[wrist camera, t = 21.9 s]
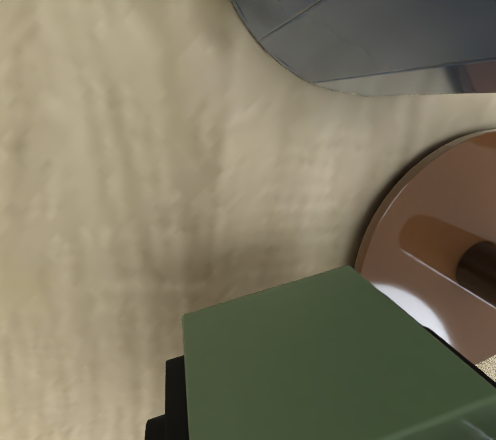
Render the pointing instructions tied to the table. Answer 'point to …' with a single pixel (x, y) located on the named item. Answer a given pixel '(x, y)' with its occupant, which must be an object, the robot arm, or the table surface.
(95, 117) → the table surface
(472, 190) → the lid
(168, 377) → the robot arm
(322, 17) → the crock
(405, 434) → the block
